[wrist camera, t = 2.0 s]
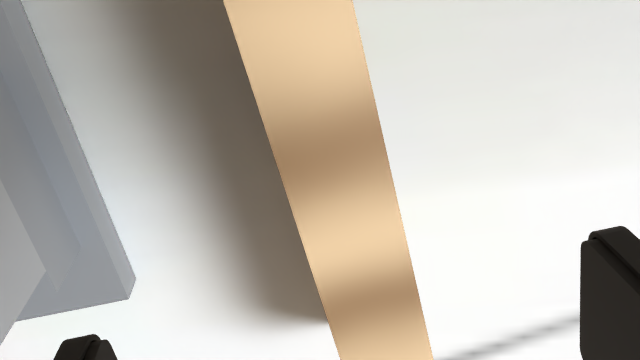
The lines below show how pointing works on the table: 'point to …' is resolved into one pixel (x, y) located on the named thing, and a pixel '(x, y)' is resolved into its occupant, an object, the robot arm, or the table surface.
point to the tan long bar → (334, 170)
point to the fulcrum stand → (47, 195)
